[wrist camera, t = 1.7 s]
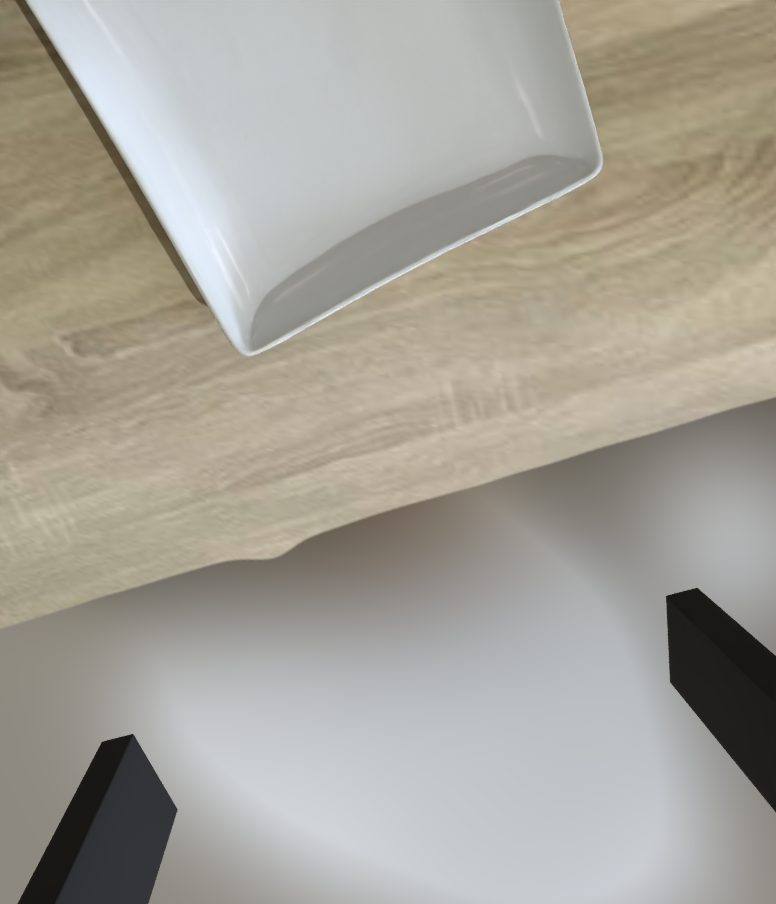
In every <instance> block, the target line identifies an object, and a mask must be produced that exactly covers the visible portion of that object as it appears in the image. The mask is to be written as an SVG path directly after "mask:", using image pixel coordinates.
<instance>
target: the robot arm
mask: <svg viewBox="0 0 776 904" xmlns="http://www.w3.org/2000/svg"><path fill="white" fill-rule="evenodd" d="M666 603H667V624H668V645H669V668H670V682H671V684H672V685H673V686H674V687H675V689H676V690H677V691H678V692H679V694H680V695H681V696H682V697H683V698H684V700H685V701H686V702H687V703H688V704H689V706H690V707H691V708H692V710H693V711H694V712H695V713H696V714H697V716H698V717H699V718H700V719H701V721H702V722H703V723H704V724H705V726H706V727H707V728H708V729H709V730H710V732H711V733H712V734H713V735H714V736H715V738H716V739H717V740H718V741H719V743H720V744H721V745H722V746H723V748H724V749H725V750H726V751H727V753H728V754H729V755H730V756H731V758H732V759H733V760H734V761H735V762H736V764H737V765H738V766H739V767H740V769H741V770H742V771H743V772H744V774H745V775H746V776H747V777H748V779H749V780H750V781H751V782H752V783H753V785H754V786H755V787H756V788H757V790H758V791H759V792H760V793H761V795H762V796H763V797H764V798H765V799H766V800H767V802H768V803H769V804H770V806H771V807H772V808H773V809H774V811H775V812H776V656H775V655H774V654H773V653H772V652H770V651H769V650H768V649H767V648H766V647H765V646H763V645H762V644H761V643H760V642H759V641H758V640H757V639H755V638H754V637H753V636H752V635H751V634H750V633H749V632H747V631H746V630H745V629H744V628H743V627H741V626H740V625H739V624H738V623H737V622H736V621H735V620H734V619H732V618H731V617H730V616H729V615H728V614H727V613H725V612H724V611H723V610H722V609H721V608H720V607H719V606H717V605H716V604H715V603H714V602H713V601H712V600H711V599H709V598H708V597H707V596H706V595H705V594H704V593H702V592H701V591H700V590H699V589H698V588H695V589H691V590H687V591H683V592H679V593H675V594H672V595H668V596H666ZM176 813H177V808H176V806H175V804H174V803H173V801H172V799H171V798H170V796H169V794H168V793H167V791H166V789H165V788H164V786H163V784H162V782H161V781H160V779H159V777H158V776H157V774H156V772H155V770H154V769H153V767H152V765H151V764H150V762H149V760H148V758H147V757H146V755H145V753H144V752H143V750H142V748H141V746H140V745H139V743H138V741H137V740H136V738H135V736H134V735H133V734H131V735H127V736H123V737H119V738H115V739H111V740H107V741H104V742H102V743H101V745H100V747H99V749H98V751H97V752H96V754H95V756H94V758H93V760H92V762H91V764H90V766H89V768H88V770H87V772H86V774H85V775H84V777H83V779H82V781H81V783H80V785H79V787H78V789H77V791H76V793H75V795H74V797H73V799H72V800H71V802H70V804H69V806H68V808H67V810H66V812H65V814H64V816H63V818H62V820H61V822H60V823H59V826H58V827H57V829H56V831H55V833H54V835H53V837H52V839H51V841H50V843H49V845H48V847H47V848H46V850H45V852H44V854H43V856H42V858H41V860H40V862H39V864H38V866H37V868H36V870H35V871H34V873H33V875H32V877H31V879H30V881H29V883H28V885H27V887H26V889H25V891H24V893H23V895H22V896H21V898H20V900H19V902H18V904H148V903H149V899H150V896H151V893H152V890H153V887H154V884H155V880H156V877H157V874H158V871H159V868H160V864H161V861H162V858H163V855H164V851H165V848H166V845H167V842H168V839H169V835H170V832H171V829H172V826H173V823H174V819H175V816H176Z"/></svg>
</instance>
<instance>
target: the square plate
mask: <svg viewBox="0 0 776 904" xmlns="http://www.w3.org/2000/svg"><path fill="white" fill-rule="evenodd" d="M25 2H26V3H27V5H28V7H29V8H30V10H31V11H32V13H33V14H34V16H35V18H36V19H37V21H38V22H39V24H40V25H41V27H42V29H43V30H44V32H45V33H46V35H47V37H48V38H49V40H50V41H51V43H52V44H53V46H54V48H55V49H56V51H57V52H58V54H59V56H60V57H61V59H62V60H63V62H64V64H65V65H66V67H67V68H68V70H69V72H70V73H71V75H72V76H73V78H74V80H75V81H76V83H77V85H78V86H79V88H80V89H81V91H82V93H83V94H84V96H85V97H86V99H87V101H88V102H89V104H90V106H91V107H92V109H93V111H94V112H95V114H96V116H97V117H98V119H99V121H100V122H101V124H102V125H103V127H104V129H105V130H106V132H107V134H108V135H109V137H110V139H111V140H112V142H113V144H114V145H115V147H116V149H117V150H118V152H119V154H120V155H121V157H122V159H123V160H124V162H125V164H126V165H127V167H128V169H129V170H130V172H131V174H132V175H133V177H134V179H135V181H136V182H137V184H138V186H139V187H140V189H141V191H142V193H143V194H144V196H145V198H146V199H147V201H148V203H149V205H150V206H151V208H152V210H153V211H154V213H155V215H156V217H157V218H158V220H159V222H160V224H161V225H162V227H163V229H164V230H165V232H166V234H167V236H168V237H169V239H170V241H171V243H172V244H173V246H174V248H175V250H176V251H177V253H178V255H179V257H180V258H181V260H182V262H183V264H184V266H185V267H186V269H187V271H188V273H189V274H190V276H191V278H192V280H193V281H194V283H195V285H196V286H197V288H198V290H199V292H200V293H201V295H202V297H203V299H204V300H205V302H206V304H207V306H208V307H209V309H210V311H211V312H212V314H213V316H214V317H215V319H216V321H217V323H218V324H219V325H220V327H221V329H222V331H223V332H224V334H225V336H226V337H227V339H228V340H229V342H230V343H231V345H232V346H233V347H234V349H235V350H236V351H237V352H238V353H239V354H241V355H243V356H247V357H248V356H253V355H256V354H259V353H261V352H262V351H265V350H267V349H269V348H271V347H273V346H275V345H277V344H279V343H281V342H283V341H285V340H287V339H289V338H290V337H292V336H293V335H295V334H297V333H299V332H300V331H302V330H304V329H305V328H307V327H309V326H311V325H312V324H314V323H316V322H318V321H320V320H321V319H323V318H325V317H327V316H328V315H330V314H332V313H334V312H335V311H337V310H339V309H341V308H343V307H344V306H346V305H348V304H349V303H351V302H353V301H355V300H357V299H359V298H361V297H362V296H364V295H366V294H368V293H370V292H371V291H373V290H374V289H376V288H378V287H380V286H382V285H384V284H385V283H387V282H389V281H391V280H393V279H395V278H397V277H399V276H401V275H402V274H404V273H406V272H408V271H410V270H412V269H414V268H416V267H418V266H420V265H422V264H424V263H426V262H428V261H430V260H432V259H434V258H436V257H437V256H439V255H441V254H443V253H445V252H447V251H449V250H451V249H453V248H456V247H458V246H460V245H462V244H463V243H465V242H468V241H470V240H472V239H474V238H476V237H478V236H480V235H482V234H484V233H486V232H488V231H490V230H492V229H494V228H496V227H498V226H500V225H503V224H505V223H507V222H509V221H511V220H514V219H515V218H517V217H519V216H521V215H523V214H525V213H527V212H529V211H531V210H533V209H535V208H538V207H540V206H542V205H544V204H546V203H548V202H550V201H552V200H554V199H556V198H558V197H560V196H562V195H564V194H566V193H568V192H570V191H572V190H573V189H575V188H577V187H579V186H581V185H583V184H584V183H586V182H588V181H589V180H591V179H592V178H593V177H594V176H596V175H597V174H598V173H599V172H600V170H601V168H602V165H603V155H602V150H601V146H600V142H599V139H598V135H597V131H596V128H595V124H594V120H593V116H592V113H591V109H590V105H589V102H588V98H587V95H586V91H585V88H584V85H583V81H582V78H581V74H580V71H579V68H578V64H577V61H576V57H575V54H574V51H573V47H572V44H571V41H570V37H569V34H568V31H567V27H566V24H565V21H564V17H563V14H562V10H561V7H560V3H559V0H25Z"/></svg>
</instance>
